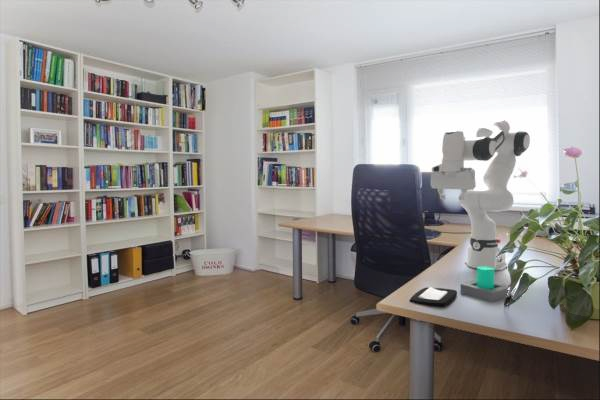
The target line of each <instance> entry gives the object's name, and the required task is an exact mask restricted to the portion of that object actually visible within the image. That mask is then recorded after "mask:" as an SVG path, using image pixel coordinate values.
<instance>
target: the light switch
mask: <svg viewBox="0 0 600 400" xmlns="http://www.w3.org/2000/svg"><path fill="white" fill-rule="evenodd" d="M457 294H458V292H457V290H456V289H451V288H441V287H431V286H430V287H423V288H422V289H420V290H418V291H417V292H415V293H414V294H413V295H412V296H411V297H410V298H409V302H410V303H413V304H417V305H423V306H432V307H433V306H435V307H437V306H438V307H445V306H447V305H449V304H450V303H451V302H452V301H453V300H454V299H455V298H456V296H457Z"/></svg>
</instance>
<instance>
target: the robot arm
mask: <svg viewBox="0 0 600 400" xmlns="http://www.w3.org/2000/svg"><path fill="white" fill-rule="evenodd" d="M510 129H511V127H510V123H509V122H508V121H507V120H505V119H503V118H499V119H498V118H497V119H493V120H490V121H488V122H486V123H484V124H483V125H480V127H479V128H478V129H477V131H476V134H475V135H476V137H471V138H467V137H465V136H464V131H463V130H460V129H455V130H449V131H448V130H447V131H446V132H445V133H444V134H443V137H442V147H441V148H442V149H441V150H442V151H441V152H442V159H441V163H440V164H438V165H437V164H436V165H435V166H433V167H431V172H432V173H431V174H430V185H429V186H430V187H431V188H432V189H437V193H438V195H439V199H440V200H445V199H446V195H445V194H444V190H460V193H459V196H458V201H459V204H460V206H461V207H462V208H463V209H465V211H466V213H467V215H468V216H469V220H470V226H471V232H470V233H471V234H470V235H471V237H470V239H469V245H470V246H469V247H468V248H467V256H466V260H464V264H466V266H467V267H470V268H473V269H477V267H478V266H481V267H482V266H487V267H490V268H495V271H503V270H505V269H507V268H508V267H507V264H508V263H509V262H507V261H506V253H505V254H504V255H501V256H499V257H497V258H496V259H495V257H496V256H497V255H498V254H499V252H500V251H501V250H502V249H501V248H500V247H499V244H501V242H502V241H501V239H500V238H497V223H496V222H495V220H493V219H492V218H490V217H489V215H488V214H487V212H496V213H497V212H498V213H499V212H507V211H509V210H510V209H511V208H512V206H513V205H514V197H513V194H512V192H511V191H509V190H508V187H507V185H508V182H509V180H510V178H511V176H512V174H513V172H514V169H515V166H516V162H517V159H516V157H520V156H521V155H522V154H523V153H525V152H526V150H528V148H529V146H530V141H531V139H530V138H531V137H530V135H529V133H528V132H527V131H523V130H510ZM496 153H497V155H496V156H495V157H494V155H495V154H496ZM492 158H493V159H492ZM491 159H492V160H491ZM490 160H491V162H490V164H489V165H488V168H487V169H486V171H485V172H484V175H483V182H484V184H485V186H486V187H487V188H486V187H483V188H482V187H476V186H477V185H476V171H475V169H474V168H472V167H465V166H464V165H465V161H483V162H484V161H485V162H488V161H490ZM506 267H507V268H506Z"/></svg>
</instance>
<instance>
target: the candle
mask: <svg viewBox="0 0 600 400" xmlns="http://www.w3.org/2000/svg"><path fill="white" fill-rule="evenodd" d="M495 271H496V270H495V268H490V267H487V266H482V267H481V266H478V267H477V268H476V280H477V286H478V287H482V288H485V289H489V290H491V289H494V282H495Z"/></svg>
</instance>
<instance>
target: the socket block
mask: <svg viewBox="0 0 600 400" xmlns="http://www.w3.org/2000/svg"><path fill="white" fill-rule="evenodd" d="M508 286H509V285H507V284H503V283H498V282H495V281H494V289H491V290H489V289H485V288H482V287H478V286H477V279H474V280H470V281H467V282H463V283H460V289H459V290H460V292H459V293H461V294H463V295H467V296H470V297H474V298H477V299H479V300H480V299H481V300H483V301H487V302H490V303H494V302H497V301H501V300H503V299H506V298H507V297H506V296H507V293H508V291H509V290H507V287H508ZM505 297H506V298H505Z"/></svg>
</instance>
